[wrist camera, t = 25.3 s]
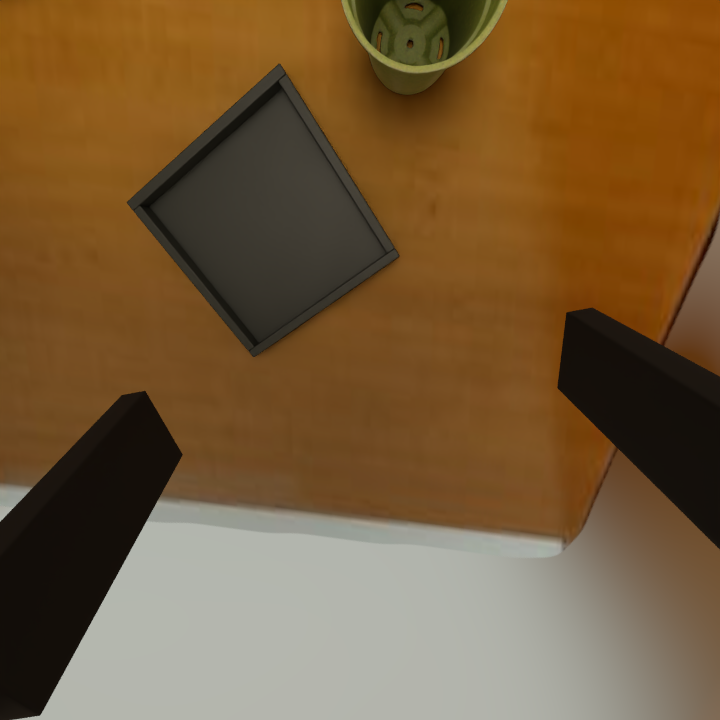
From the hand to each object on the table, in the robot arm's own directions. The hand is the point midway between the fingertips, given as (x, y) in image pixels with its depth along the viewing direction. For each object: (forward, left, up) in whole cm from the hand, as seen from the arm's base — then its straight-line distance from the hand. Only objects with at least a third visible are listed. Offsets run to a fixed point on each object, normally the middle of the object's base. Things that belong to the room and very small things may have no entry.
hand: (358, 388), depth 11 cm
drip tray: (-9, -4, -23) cm, 25 cm away
